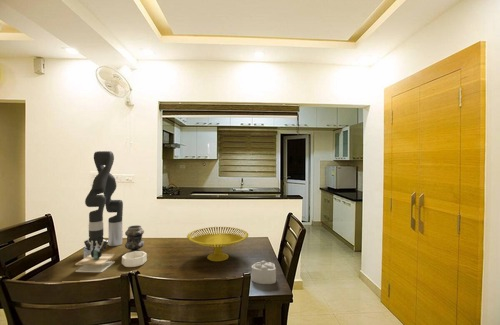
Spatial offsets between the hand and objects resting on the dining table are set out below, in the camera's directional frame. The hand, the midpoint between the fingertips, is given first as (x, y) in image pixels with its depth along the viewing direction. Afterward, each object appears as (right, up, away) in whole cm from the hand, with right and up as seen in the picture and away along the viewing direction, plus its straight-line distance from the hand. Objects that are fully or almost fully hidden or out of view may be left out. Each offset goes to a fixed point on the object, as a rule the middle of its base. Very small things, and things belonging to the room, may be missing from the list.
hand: (96, 256), depth 155 cm
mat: (0, -6, 0) cm, 6 cm away
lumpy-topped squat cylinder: (+99, -7, -14) cm, 100 cm away
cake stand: (+70, -6, +17) cm, 73 cm away
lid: (0, -2, 0) cm, 2 cm away
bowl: (+20, -6, +6) cm, 22 cm away
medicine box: (-10, -6, +11) cm, 16 cm away
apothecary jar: (+13, -6, +23) cm, 27 cm away
